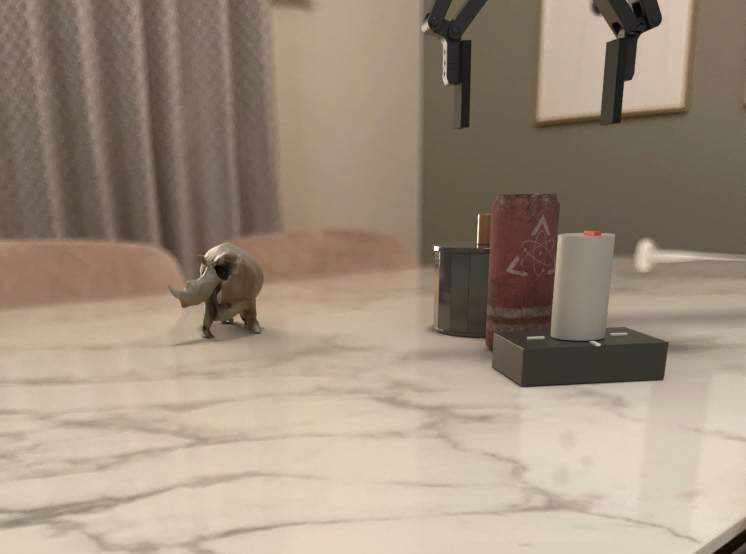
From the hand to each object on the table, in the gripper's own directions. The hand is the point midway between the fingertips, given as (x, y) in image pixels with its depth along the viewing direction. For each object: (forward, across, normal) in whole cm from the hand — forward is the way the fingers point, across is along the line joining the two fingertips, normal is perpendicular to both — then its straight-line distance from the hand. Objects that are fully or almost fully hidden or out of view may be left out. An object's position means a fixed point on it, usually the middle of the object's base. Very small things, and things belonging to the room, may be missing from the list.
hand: (536, 126), depth 74 cm
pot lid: (+11, 0, -12) cm, 17 cm away
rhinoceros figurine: (+19, +28, -18) cm, 39 cm away
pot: (+19, +1, -12) cm, 23 cm away
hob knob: (+16, 0, +11) cm, 20 cm away
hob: (+19, 0, +12) cm, 23 cm away
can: (+20, +1, 0) cm, 20 cm away
